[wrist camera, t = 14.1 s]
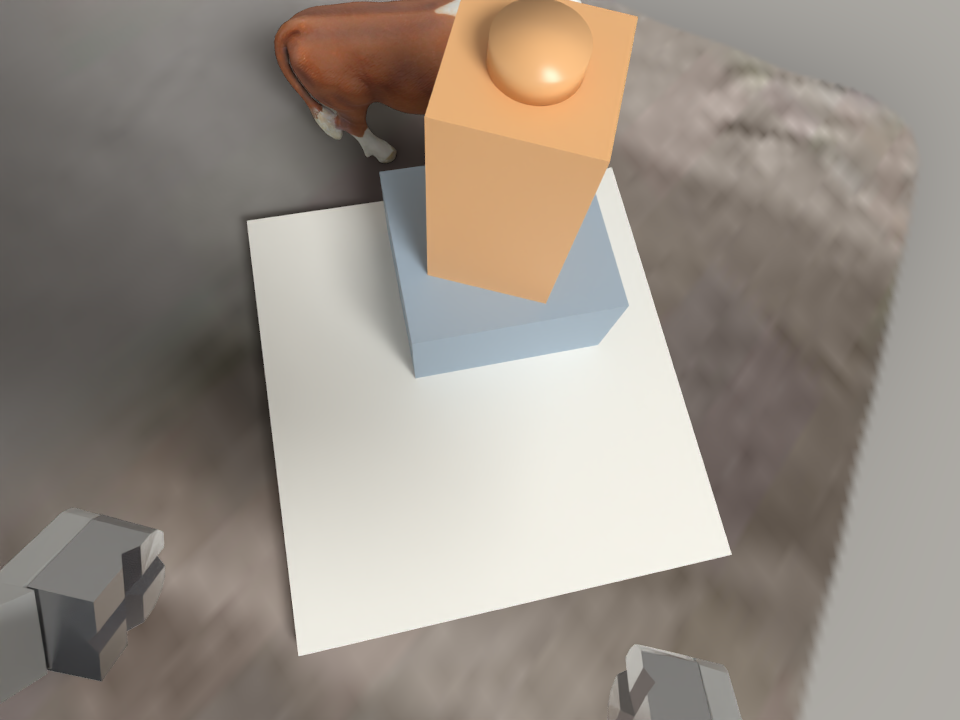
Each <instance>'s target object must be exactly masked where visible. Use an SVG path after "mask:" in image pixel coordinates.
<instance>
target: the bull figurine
mask: <svg viewBox="0 0 960 720" xmlns="http://www.w3.org/2000/svg"><path fill="white" fill-rule="evenodd" d="M460 1H461V0H400V1H391V2H350V3H342V4H334V5H324V6H315V7H311V8H308V9H305V10H303V11H301V12H299V13H297V14H295V15H294V16H293V17H292V18H291V19H290V20H288V21H286V22H285V23H284V24H283V25H281V27H280V28H279V30H278V32H277V34H276V35H275V41H274V45H275V55H276V58H277V61H278V64H279V66H280V68H281V70H282V72H283V74H284V76H285V77H286V79H287V80H288V81H289V83H290V84H291V85H292V87H293V88H294V89H295V90H296V91H297V92H298V93H299V95H300V96H301V97H302V98H303V99H304V101H305V102H306V104H307V105H308V107H309V109H310V111H311V113H312V115H313V117H314V119H315V121H316V122H317V123H318V125H319V126H320V127H321V128H322V129H323V130H324V132H325V133H326V134H327V135H329V136H331V137H333V138H334V139H341V138H342V136H343V130H344V131H346V132H348V133H350V134H351V135H352V136H353V137H355V138H356V139H357V140H358V141H359V143H360V145H361V146H362V148H363V150H364V154H365V155H366V157H369V156H371V155H374V156H375V157H376V158H377V159H378V160H379V162H381V163H389V162H391V161H393V160H394V159H395V157H396V149H395V148H393V147H392V146H390V145H389V144H388V143H387V142H386V141H384V140H382V139H380V138H378V137H376V136H375V135H374V134H372V133H371V131H370V130H369V128H368V126H367V123H366V113H367V108H368V107H369V105H370V104H372V103H374V102H380V103H383V104H385V105H387V106H389V107H391V108H393V109H396V110H398V111H401V112H404V113H409V114H421V115H423V114H425V113H426V110H427V107H428V104H429V100H430V97H431V94H432V91H433V88H434V84H435V81H436V78H437V75H438V72H439V68H440V65H441V62H442V59H443V56H444V52H445V49H446V46H447V43H448V39H449V36H450V33H451V30H452V27H453V23H454V20H455V17H456V14H457V11H458V7H459V4H460ZM571 1H575V2H579V3H581V1H580V0H571ZM289 59H290V64H291V66H292V68H291V66H290V64H289ZM292 69H293V70H292ZM293 71H294V72H295V74H296V75H297V77H298V78H297V77H296V75H295V74H294V72H293ZM298 79H299V80H300V82H301V83H302V84H303V86H304V87H305V88H306V89H307V90H306V89H305V88H304V87H303V86H302V84H301V83H300V82H299V80H298ZM307 91H308V92H309V93H310V94H311V95H312V96H313V97H314V98H316V99H317V100H318V101H319V102H321V103H322V105H321V104H319V103H318V102H316V101H315V100H314V99H313V98H311V96H310V95H309V93H308V92H307Z"/></svg>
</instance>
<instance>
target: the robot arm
mask: <svg viewBox="0 0 960 720" xmlns="http://www.w3.org/2000/svg"><path fill="white" fill-rule="evenodd" d="M163 548H164V536H163V532H162V531H160V530H157V529H154V528H150V527H146V526H142V525H139V524H135V523H131V522H128V521H124V520H120V519H117V518H113V517H109V516H105V515H101V514H97V513H93V512H89V511H85V510H81V509H78V508H74V507H72V508H70V509H68V510H66V511H63V512H62V513H60V514H59V515H58V516H57V517H56V518H55V519H54V520H53V521H52V522H51V523H50V524H49V525H48V526H47V527H45V528H44V529H43V530H42V531H41V532H40V533H39V534H38V535H37V536H36V537H35V538H34V539H33V540H32V541H31V542H30V543H29V544H27V545H26V546H25V547H24V548H23V549H22V550H21V551H20V552H19V553H18V554H17V555H16V556H15V557H14V558H13V559H12V560H11V561H9V562H8V563H7V564H6V565H5V566H4V567H3V568H2V569H1V570H0V703H2V702H4V701H5V700H7V699H8V698H10V697H11V696H13V695H15V694H16V693H18V692H19V691H21V690H22V689H24V688H26V687H27V686H29V685H30V684H32V683H33V682H35V681H37V680H38V679H40V678H41V677H43V676H44V675H46V674H47V673H48V672H47V670H49V671H54V672H59V673H64V674H69V675H73V676H78V677H83V678H88V679H93V680H97V681H102V680H103V679H104V678H105V676H106V675H107V673H108V672H109V671H110V669H111V668H112V666H113V665H114V664H115V662H116V661H117V659H118V658H119V657H120V655H121V654H122V652H123V651H124V650H125V648H126V647H127V645H128V641H127V631H128V630H130V629H132V628H134V627H135V626H137V625H139V624H141V623H143V622H144V621H145V620H146V618H147V617H148V616H149V614H150V613H151V611H152V610H153V608H154V607H155V604H156V602H157V600H158V598H159V595H160V593H161V591H162V588H163V583H164V578H165V565H164V564H163V563H162V561H161V560H160V559H159V557H158V556H157V555H158V554H159V553H160V551H161V550H162V549H163ZM626 666H627V670H626V671H624V672H622V673H620V674H618V675H617V676H616V678H615V681H614V683H613V685H612V688H611V692H610V697H609V702H608V720H742V719H741V715H740V712H739V708H738V705H737V701H736V698H735V694H734V691H733V687H732V684H731V680H730V677H729V673H728V671H727V669H726V668H725V667H724V665H722V664H718V663H713V662H709V661H705V660H701V659H697V658H691V657H690V656H686V655H681V654H677V653H672V652H668V651H664V650H659V649H655V648H651V647H646V646H642V645H637V644H635V645H634V646H633V647H631V648H630V650H629V652H628V654H627V656H626Z"/></svg>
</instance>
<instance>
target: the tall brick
mask: <svg viewBox="0 0 960 720" xmlns="http://www.w3.org/2000/svg"><path fill="white" fill-rule="evenodd" d="M637 20H638V17H636V16H632V15H628V14H624V13H620V12H616V11H612V10H608V9H603V8H599V7H595V6H591V5H587V4H583V3H579V2H575V1H571V0H461V1H460V4H459V7H458V11H457V14H456V17H455V20H454V23H453V27H452V30H451V33H450V36H449V39H448V43H447V46H446V49H445V52H444V56H443V59H442V62H441V65H440V68H439V72H438V75H437V78H436V81H435V84H434V88H433V91H432V94H431V97H430V100H429V104H428V107H427V110H426V113H425V117H424V122H425V174H426V226H427V275H429V276H433V277H438V278H442V279H446V280H450V281H454V282H458V283H462V284H466V285H471V286H475V287H479V288H483V289H487V290H491V291H495V292H499V293H503V294H508V295H512V296H516V297H520V298H524V299H528V300H532V301H536V302H541V303H545V304H546V302H547V300H548V298H549V295H550V293H551V291H552V289H553V287H554V284H555V282H556V280H557V278H558V276H559V273H560V271H561V269H562V267H563V264H564V262H565V260H566V258H567V256H568V253H569V251H570V249H571V247H572V245H573V242H574V240H575V238H576V236H577V233H578V231H579V229H580V227H581V225H582V222H583V220H584V218H585V216H586V213H587V211H588V209H589V207H590V205H591V202H592V200H593V198H594V196H595V194H596V191H597V189H598V187H599V185H600V182H601V180H602V178H603V176H604V174H605V171H606V169H607V167H608V165H609V163H610V158H611V153H612V148H613V143H614V138H615V133H616V128H617V122H618V117H619V112H620V107H621V102H622V97H623V92H624V86H625V81H626V76H627V71H628V66H629V61H630V56H631V51H632V45H633V40H634V35H635V30H636V25H637Z"/></svg>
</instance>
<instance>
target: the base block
mask: <svg viewBox="0 0 960 720" xmlns="http://www.w3.org/2000/svg"><path fill="white" fill-rule="evenodd" d="M379 173H380V180H381V187H382V194H383V201H384V209H385V216H386V223H387V230H388V235H389V241H390V246H391V251H392V257H393V262H394V267H395V273H396V278H397V283H398V288H399V294H400V299H401V304H402V310H403V315H404V320H405V326H406V331H407V336H408V342H409V347H410V352H411V357H412V363H413V368H414V373H415V378H420V377H426V376H431V375H437V374H442V373H447V372H453V371H458V370H464V369H469V368H475V367H480V366H486V365H491V364H497V363H502V362H508V361H513V360H519V359H524V358H529V357H535V356H540V355H546V354H551V353H557V352H562V351H568V350H573V349H579V348H584V347H590V346H595V345H598V344H599V343H600V342H601V341H602V339H603V338H604V337H605V336H606V334H607V333H608V332H609V330H610V329H611V328H612V327H613V325H614V324H615V323H616V322H617V320H618V319H619V318H620V317H621V315H622V314H623V313H624V312H625V310H626V309H627V308H628V306H629V304H628V300H627V297H626V294H625V290H624V287H623V284H622V280H621V277H620V274H619V270H618V267H617V263H616V260H615V257H614V253H613V250H612V247H611V243H610V240H609V237H608V233H607V230H606V226H605V223H604V220H603V216H602V213H601V210H600V206H599V203H598V200H597V196H596V194H595V196H594V198H593V200H592V202H591V205H590V207H589V209H588V211H587V213H586V216H585V218H584V220H583V222H582V225H581V227H580V229H579V231H578V233H577V236H576V238H575V240H574V242H573V245H572V247H571V249H570V251H569V253H568V256H567V258H566V260H565V262H564V264H563V267H562V269H561V271H560V273H559V276H558V278H557V280H556V282H555V284H554V287H553V289H552V291H551V293H550V295H549V298H548V300H547V302H546V304H545V303H541V302H536V301H532V300H528V299H524V298H520V297H516V296H512V295H508V294H503V293H499V292H495V291H491V290H487V289H483V288H479V287H475V286H471V285H466V284H462V283H458V282H454V281H450V280H446V279H442V278H438V277H433V276H429V275H427V226H426V174H425V166H418V167H410V168H403V169H396V170H389V171H382V172H379Z"/></svg>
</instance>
